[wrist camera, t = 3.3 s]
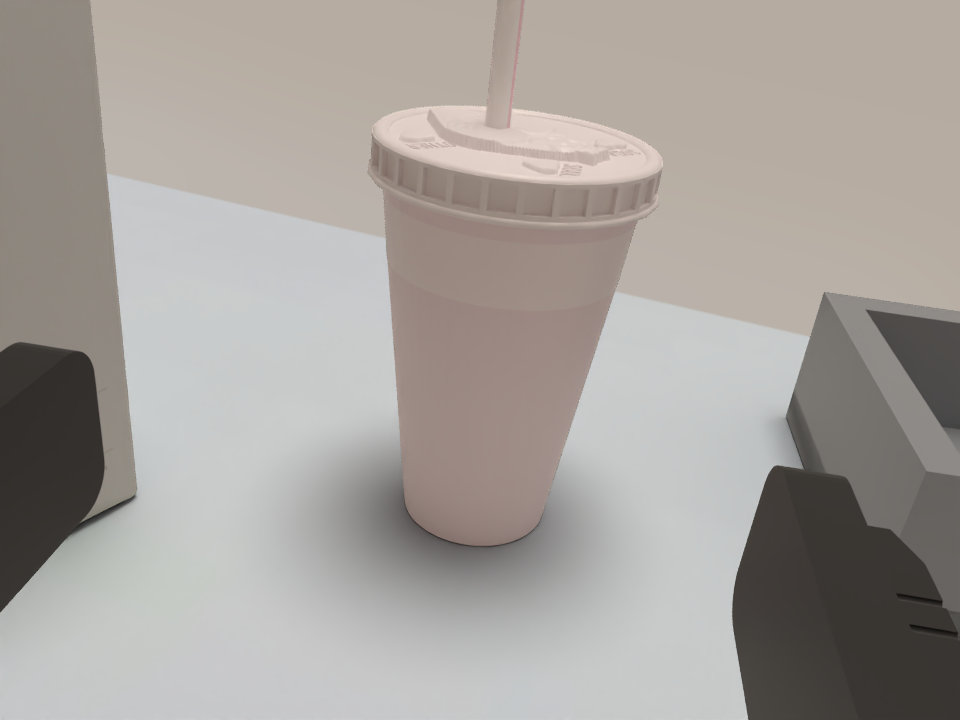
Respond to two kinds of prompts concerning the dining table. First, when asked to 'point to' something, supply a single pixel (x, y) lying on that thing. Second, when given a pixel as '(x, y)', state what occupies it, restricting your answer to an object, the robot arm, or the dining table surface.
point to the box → (888, 421)
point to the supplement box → (61, 212)
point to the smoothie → (499, 290)
